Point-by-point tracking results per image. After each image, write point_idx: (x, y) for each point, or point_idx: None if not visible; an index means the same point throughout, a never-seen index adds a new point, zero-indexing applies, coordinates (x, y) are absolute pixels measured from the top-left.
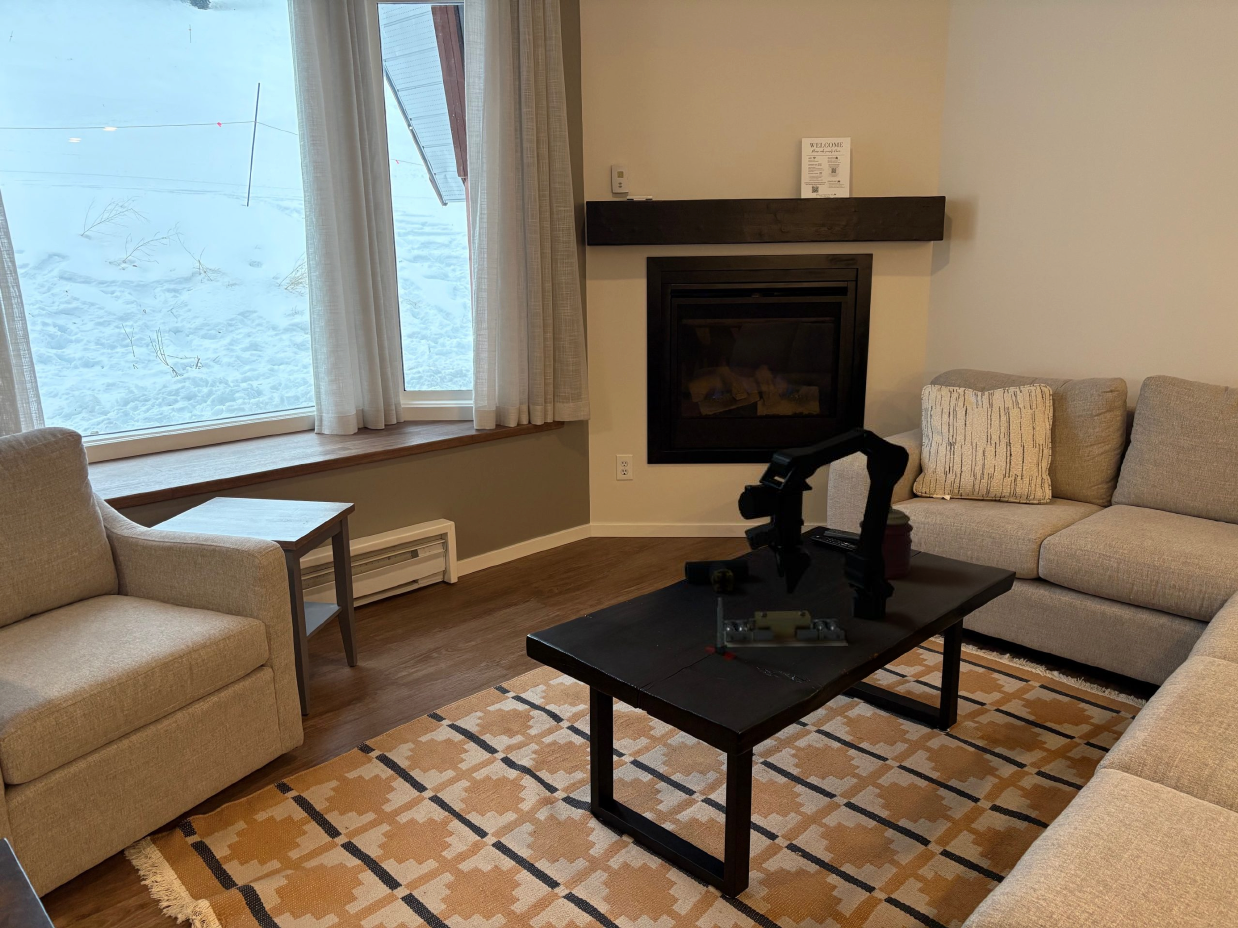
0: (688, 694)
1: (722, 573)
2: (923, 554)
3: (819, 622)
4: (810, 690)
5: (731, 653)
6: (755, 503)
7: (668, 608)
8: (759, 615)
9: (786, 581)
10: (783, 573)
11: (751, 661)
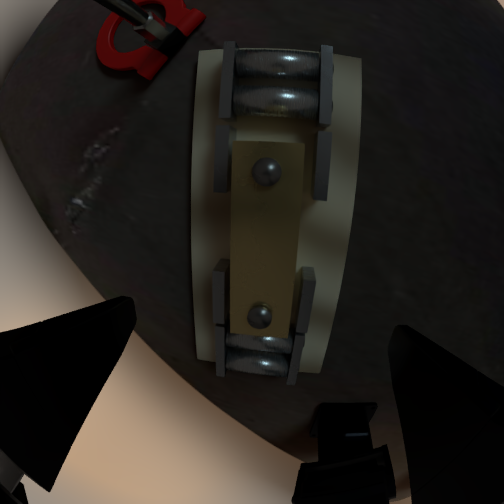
0: (58, 23)
1: None
2: None
3: (279, 345)
4: (48, 224)
5: (148, 64)
6: None
7: (466, 10)
8: (264, 153)
9: (51, 322)
10: (394, 361)
11: (142, 116)
